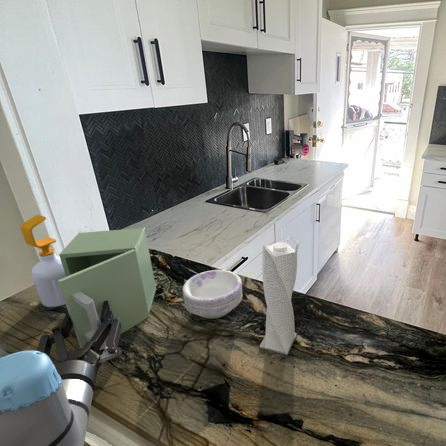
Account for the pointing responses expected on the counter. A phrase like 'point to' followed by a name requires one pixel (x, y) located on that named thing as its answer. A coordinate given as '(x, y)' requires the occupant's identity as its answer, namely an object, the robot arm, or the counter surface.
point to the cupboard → (110, 253)
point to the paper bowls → (212, 293)
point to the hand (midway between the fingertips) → (89, 309)
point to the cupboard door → (105, 295)
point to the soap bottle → (45, 266)
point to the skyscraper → (279, 295)
